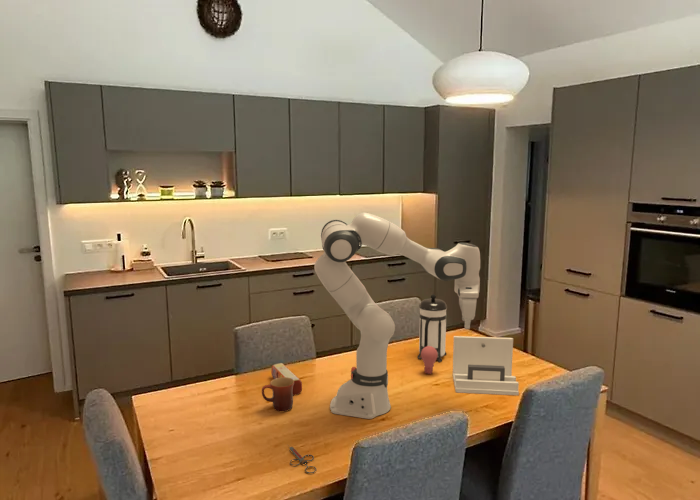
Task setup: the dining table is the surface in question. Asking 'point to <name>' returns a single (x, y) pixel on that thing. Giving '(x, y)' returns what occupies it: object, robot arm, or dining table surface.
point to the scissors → (301, 458)
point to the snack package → (283, 371)
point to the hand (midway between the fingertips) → (465, 324)
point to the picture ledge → (483, 354)
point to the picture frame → (486, 372)
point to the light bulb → (429, 358)
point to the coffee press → (433, 325)
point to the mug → (281, 393)
